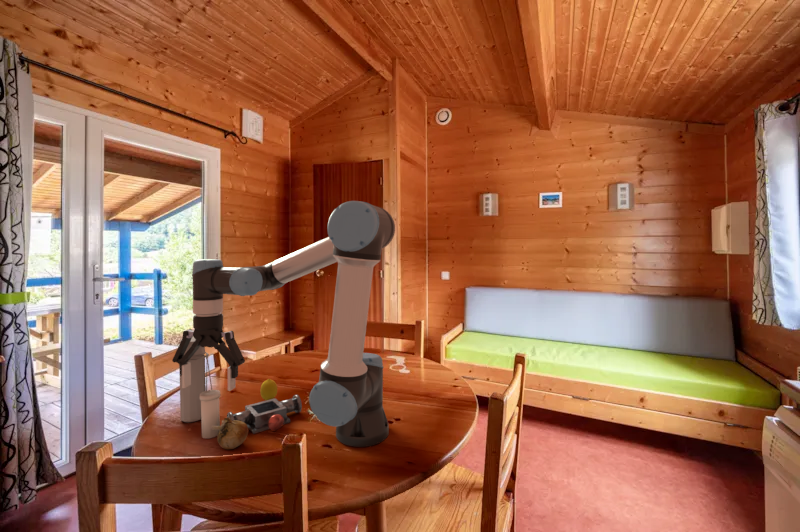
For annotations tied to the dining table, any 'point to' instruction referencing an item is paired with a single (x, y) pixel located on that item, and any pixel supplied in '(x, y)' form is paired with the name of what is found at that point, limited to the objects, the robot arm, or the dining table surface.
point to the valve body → (267, 414)
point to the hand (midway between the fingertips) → (208, 387)
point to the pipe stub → (210, 412)
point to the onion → (231, 433)
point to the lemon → (268, 389)
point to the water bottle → (194, 386)
